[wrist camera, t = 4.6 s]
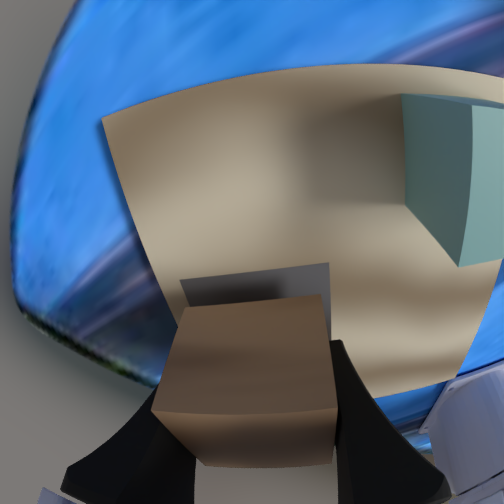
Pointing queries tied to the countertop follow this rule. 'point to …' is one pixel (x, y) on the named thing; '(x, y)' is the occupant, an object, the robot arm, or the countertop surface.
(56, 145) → the countertop surface
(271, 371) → the walnut block
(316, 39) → the countertop surface
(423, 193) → the teal block
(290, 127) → the baseplate
